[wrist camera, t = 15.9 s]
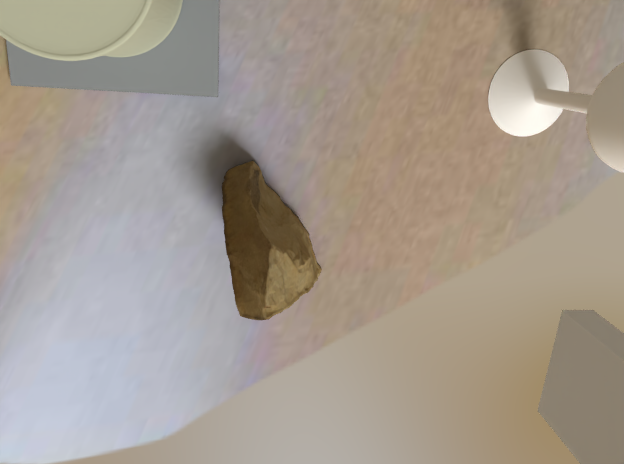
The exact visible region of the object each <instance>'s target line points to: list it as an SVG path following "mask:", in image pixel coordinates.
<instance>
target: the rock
mask: <svg viewBox="0 0 624 464" xmlns="http://www.w3.org/2000/svg"><path fill="white" fill-rule="evenodd" d="M224 179H225V180H224V182H223V183H222V193H223V206H222V214H223V220H224V234H225V243H226V251H227V255H228V258H229V261H230V269H231V276H232V284H233V289H234V294H235V302H236V305H237V308H238V311H239V314H240V316H242V317H245V318H249V319H254V320H266V319H270V318H271V317H272V316H274V315H276V314H278V313H281V312H282V311H283V310H284V309H287V308H289V307H290V306H291V305H292V304H293V303H294V302H295V301H297V300H298V299H299V297H300V296H302V295H303V294H305V293H308V292H309V291H310V289H311V288H312V287H313V285H314V283H315V282H316V281H317V280H318V276H319V275H320V273H321V270H322V269H321V267H320V266H319V265H318V264H317V261H316V257H315V254H314V252H313V249H312V244H311V241H310V239H309V233H308V232H307V231H306V230H305V228H304V227H303V226H302V224H301V222H300V221H299V219H298V217H297V216H296V215H294V214H293V212H292V211H291V210H290V209H289V208H288V207H286V206H285V205H284V203H283V202H282V201H281V199H280V197H279V196H278V195H277V194H276V193H275V192H274V191H273V190H272V189H270V188H269V187H268V186H267V185H266V184H265V181H264V178H263V176H262V173H261V170H260V168H259V166H258V165H256V163H255V162H254V161H250V162H247V163H244V164H242V165H239V166H236V167H233V168H231V169H229V170H228V171H227V172H226V175H225V176H224Z"/></svg>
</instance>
